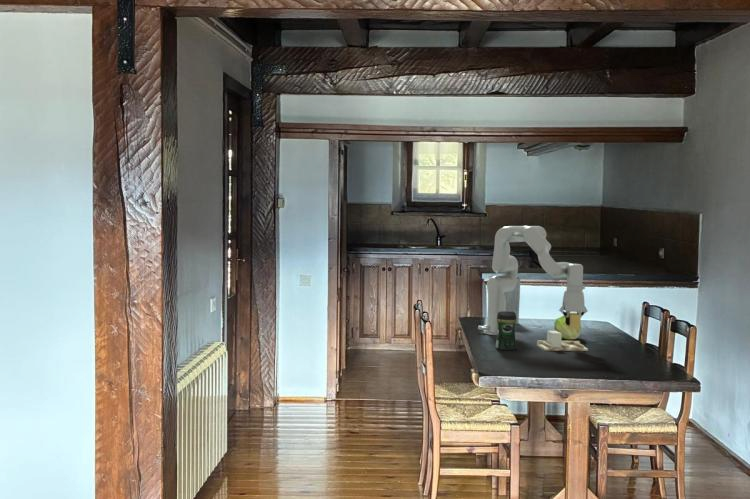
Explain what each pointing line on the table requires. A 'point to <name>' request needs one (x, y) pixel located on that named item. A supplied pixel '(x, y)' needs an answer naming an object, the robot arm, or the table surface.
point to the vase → (513, 299)
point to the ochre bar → (574, 321)
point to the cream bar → (554, 338)
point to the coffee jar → (506, 330)
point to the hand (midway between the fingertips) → (572, 324)
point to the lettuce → (566, 329)
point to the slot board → (563, 346)
